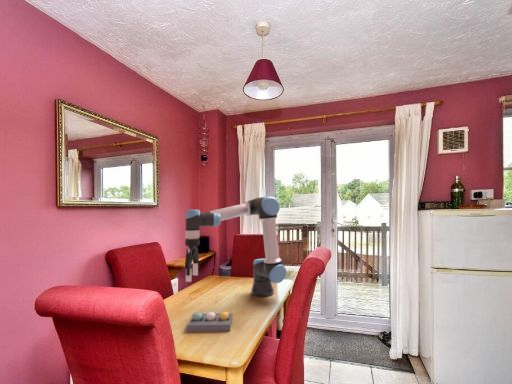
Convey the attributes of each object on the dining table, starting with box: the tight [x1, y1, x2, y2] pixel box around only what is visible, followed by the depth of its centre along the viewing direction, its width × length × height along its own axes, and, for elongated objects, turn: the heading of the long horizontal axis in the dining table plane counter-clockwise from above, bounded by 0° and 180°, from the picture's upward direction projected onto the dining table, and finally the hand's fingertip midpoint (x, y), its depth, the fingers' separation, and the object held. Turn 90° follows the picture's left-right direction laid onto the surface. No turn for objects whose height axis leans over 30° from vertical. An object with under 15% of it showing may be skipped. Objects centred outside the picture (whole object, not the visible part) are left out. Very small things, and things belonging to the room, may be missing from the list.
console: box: [186, 312, 233, 333], centre depth 131 cm, size 20×14×3 cm
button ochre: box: [219, 311, 230, 321], centre depth 132 cm, size 4×4×3 cm
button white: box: [205, 311, 216, 321], centre depth 131 cm, size 4×4×3 cm
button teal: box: [192, 311, 203, 321], centre depth 131 cm, size 4×4×3 cm
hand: (192, 278), depth 143 cm, fingers open, 13 cm apart
